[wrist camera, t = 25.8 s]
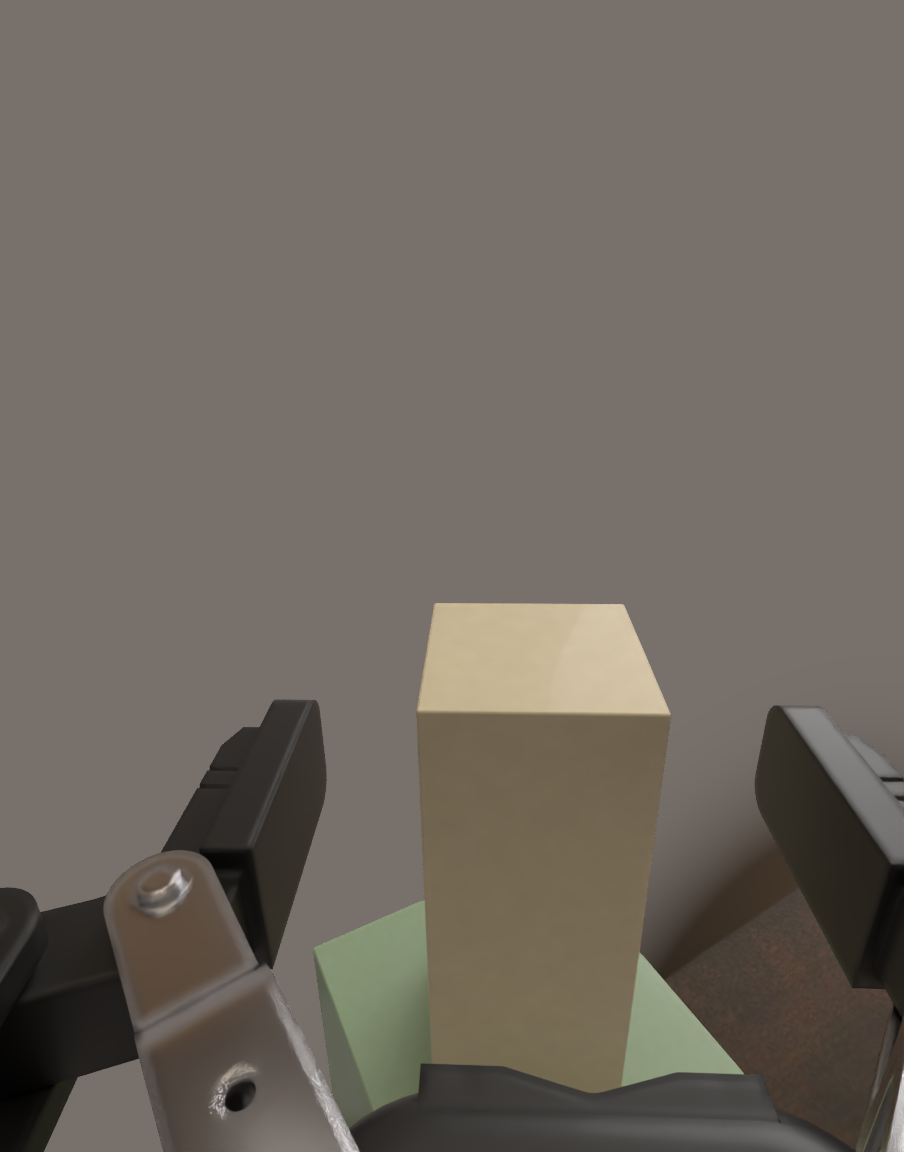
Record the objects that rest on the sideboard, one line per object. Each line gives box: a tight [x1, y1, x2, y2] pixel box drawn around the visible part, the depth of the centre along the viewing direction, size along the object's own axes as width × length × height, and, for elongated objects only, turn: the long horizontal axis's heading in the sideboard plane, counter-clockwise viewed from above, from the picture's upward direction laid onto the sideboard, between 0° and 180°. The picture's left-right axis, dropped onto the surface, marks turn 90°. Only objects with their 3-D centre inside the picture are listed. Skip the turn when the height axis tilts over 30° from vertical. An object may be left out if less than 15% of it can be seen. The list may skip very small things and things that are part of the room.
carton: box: [416, 603, 671, 1093], centre depth 17 cm, size 5×5×12 cm
